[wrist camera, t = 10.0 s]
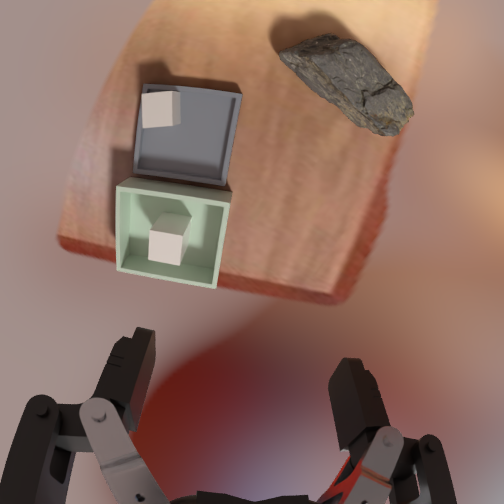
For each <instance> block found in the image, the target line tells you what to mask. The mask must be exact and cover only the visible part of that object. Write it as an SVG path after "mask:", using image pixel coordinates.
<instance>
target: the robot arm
mask: <svg viewBox="0 0 504 504" xmlns="http://www.w3.org/2000/svg"><path fill="white" fill-rule="evenodd" d="M155 349H156V348H155V331H154V330H149V329H145V328H141V327H137V328H136V330H135V332H134V335H133V337H132V338H128V337H124V336H123V337H122V338H121V339H120V340H119V341H117V342H116V343H115V344H114V347H113V349H112V351H111V353H110V356H109V358H108V360H107V364H106V365H105V367H104V370H103V372H102V374H101V377H100V379H99V382H98V384H97V387H96V390H95V392H94V394H93V396H92V397H91V398H90V399H89V400H87V401H85V402H84V403H81V404H57V403H56V402H55V400H54V399H52V398H51V397H49V396H47V395H36V396H34V397H32V398H31V399H30V400H29V401H28V403H27V405H26V407H25V410H24V412H23V415H22V417H21V420H20V423H19V425H18V428H17V431H16V434H15V436H14V439H13V442H12V445H11V448H10V451H9V454H8V458H7V461H6V464H5V468H4V471H3V475H2V479H1V483H0V504H65V502H66V496H67V491H68V486H69V481H70V476H71V471H72V467H73V462H74V458H75V454H76V452H94V454H95V456H96V458H97V460H98V462H99V465H100V468H101V471H102V474H103V476H104V478H105V480H106V482H107V484H108V485H109V488H110V490H111V492H112V493H113V495H114V497H115V499H116V501H117V502H118V504H385V502H386V500H387V498H388V496H389V501H390V504H457V501H456V497H455V492H454V488H453V484H452V480H451V476H450V472H449V468H448V465H447V461H446V457H445V454H444V450H443V447H442V444H441V442H440V440H439V439H438V438H437V437H435V436H434V435H430V434H427V435H425V436H423V437H422V438H420V439H419V440H416V439H410V438H405V437H403V436H402V434H401V433H400V431H399V430H397V429H396V428H394V427H391V425H390V423H389V419H388V416H387V413H386V410H385V407H384V404H383V401H382V398H381V394H380V391H379V390H378V385H377V382H376V380H375V378H374V377H373V375H372V374H371V373H370V371H369V370H365V369H364V366H363V363H362V361H361V359H359V358H343V359H342V360H341V362H340V363H339V365H338V367H337V368H336V370H335V371H334V373H333V375H332V376H331V378H330V380H329V385H328V391H329V396H330V401H331V406H332V411H333V416H334V421H335V426H336V431H337V437H338V442H339V447H340V451H349V452H350V456H349V457H348V458H347V460H346V461H345V463H344V465H343V466H342V468H341V470H340V471H339V473H338V475H337V476H336V478H335V479H334V481H333V482H332V484H331V485H330V487H329V488H328V489H327V491H326V492H325V493H324V494H322V495H321V497H320V498H319V499H318V500H317V502H314V501H311V500H309V498H308V495H298V496H297V495H296V496H280V497H276V498H271V499H267V500H262V501H257V502H253V501H249V500H245V499H241V498H238V497H234V496H231V495H228V494H222V493H212V492H203V491H197V494H196V495H189V496H185V497H180V498H177V499H175V500H172V501H170V502H169V501H168V499H167V498H166V496H165V495H164V493H163V492H162V490H161V489H160V487H159V486H158V484H157V482H156V481H155V479H154V478H153V476H152V474H151V473H150V471H149V469H148V468H147V466H146V464H145V463H144V461H143V460H142V458H141V456H140V455H139V454H138V452H137V451H136V449H135V447H134V445H133V443H132V441H131V440H130V438H129V436H128V434H129V430H131V431H135V432H136V431H137V427H138V423H139V419H140V416H141V412H142V408H143V404H144V401H145V397H146V393H147V389H148V386H149V382H150V379H151V375H152V372H153V368H154V364H155V356H156V351H155ZM416 473H417V477H418V481H419V486H420V495H419V491H418V486H417V481H416V476H415V474H416Z"/></svg>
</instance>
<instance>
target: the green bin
mask: <svg viewBox="0 0 504 504" xmlns="http://www.w3.org/2000/svg"><path fill="white" fill-rule="evenodd" d="M231 197H232V192H230V191H224V190H218V189H212V188H205V187H199V186H193V185H186V184H179V183H172V182H165V181H158V180H151V179H143V178H135V177H129V178H127V179H126V180H124V181H123V182H121V183H120V184H119V185H117V186H116V263H117V271H121V272H126V273H131V274H136V275H142V276H147V277H152V278H157V279H162V280H168V281H174V282H179V283H184V284H190V285H196V286H202V287H207V288H214V289H216V286H217V280H218V274H219V268H220V262H221V256H222V250H223V244H224V238H225V232H226V226H227V220H228V214H229V209H230V203H231ZM162 212H167V213H173V214H179V215H185V216H191V217H192V220H191V228H190V236H189V244H188V246H187V249H186V251H185V254H184V256H183V259H182V261H181V264H180V266H178V265H173V264H168V263H162V262H157V261H152V260H148V253H149V232H150V229H151V227H152V226H153V225H154V223H155V222H156V221H157V219H158V218H159V216H160V215H161V214H162Z"/></svg>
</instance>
